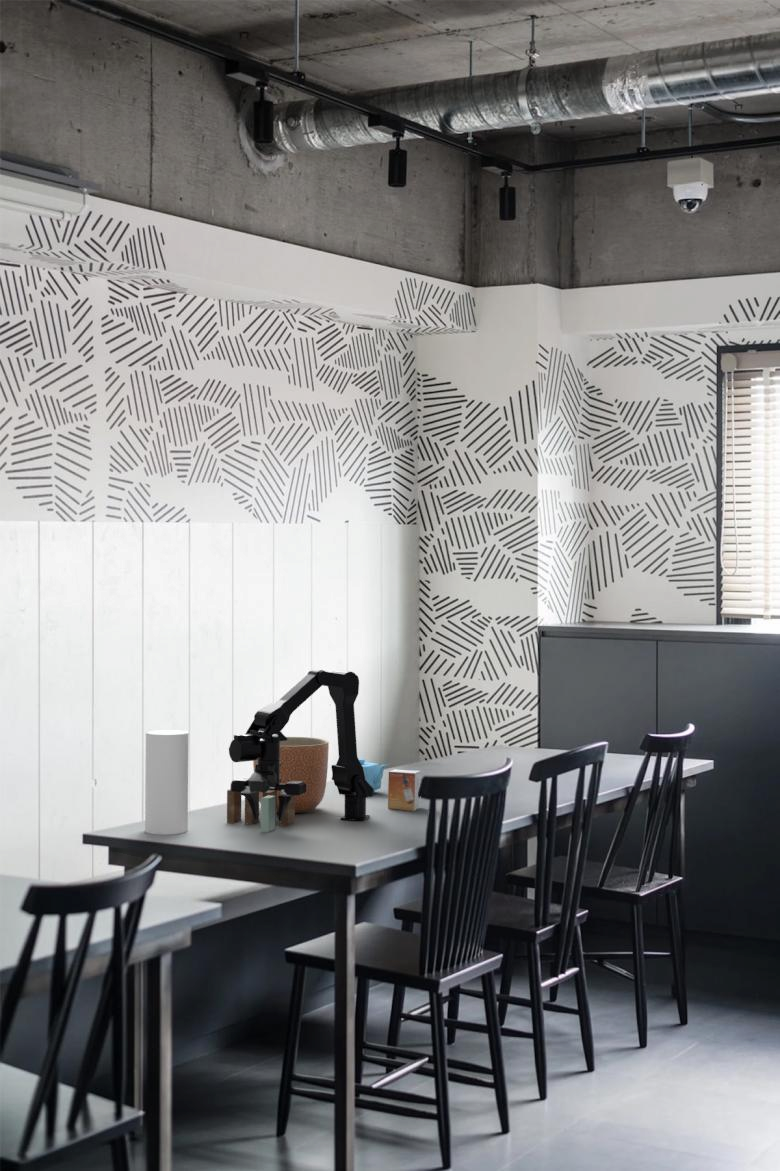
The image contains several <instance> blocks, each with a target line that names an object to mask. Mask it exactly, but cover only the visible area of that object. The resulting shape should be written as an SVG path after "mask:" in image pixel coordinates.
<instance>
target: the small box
mask: <svg viewBox="0 0 780 1171" xmlns="http://www.w3.org/2000/svg"><path fill="white" fill-rule="evenodd" d="M387 780H388V783H387V784H388V787H387V791H388V792H387V809H388V810H389V809H390V810H391V809H392V810H401V811H402V810H403V811H404V810H405V811H410V810H415V809H417V808H419V807H420V808H421V798H420V799H419V798H418V790H419V787H420V783H421V784H422V771H421V770H410V769H408V770H407V769H396V768H394V769H392V770H389V771H388V778H387ZM420 808H419V809H420ZM417 810H418V809H417ZM415 811H416V810H415Z"/></svg>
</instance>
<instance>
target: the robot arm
mask: <svg viewBox="0 0 780 1171" xmlns="http://www.w3.org/2000/svg"><path fill="white" fill-rule="evenodd" d="M322 686H323V687H327V688H328V693H329V696H330V697H331V700H332V701H333V703H334V705H335V706H334V707H335V716H336V732H337V733H336V734H337V748H338V750H337V751H338V760H337V762H336V764H331V772H332V774H331V775H332V777H331V781H333V783H334V784H333V785H335V787H337V791H338V795H344V814H343V815H342V816H341V817H340V818H339V819H340V820H345V821H347V820H348V821H361V822H362V821H363V822H364V821H365V820H367V819H369V818H370V817H371V815H370V814H367V798H372V796H373V794H374V793H373V790H374V789H373V788H372V787H371V786H370V784H369V783H368V782H367V781H366V780H365V774H364V770H363V767H362V765H361V763H360V761H359V759H360V758H359V757H358V748H357V731H356V729H357V728H356V714H355V702H356V700H357V698H358V695H359V691H360V688H359V687H360V680H359V675H357V674H356V673H355V672H353V671H348V670H339V669H337V670H333V671H332V672H329V671H326V670H323V669H315V668H313V669H311V670H309V671H308V672H307V675H305V676H304V677H303V678H302V679H301V680H300V681H298V682H297V683H296V684H295V685H294V686H293V687H292V688H290V690H288V691H287V692H286V693H285V694H284V695H283V696H281V698H280V699H278V700H276V701H275V702H272V703H270V704H267V705H265V706H263V707H262V708H260V709H259V710H257V711H256V713H254V716H253V718H254V719H253V720H252V722H251V724H250V726H249V727H248V729H247V730H246V732H245V733H244V734H234V735H233V739H232V740H231V742H230V745H229V747H228V753H229V758H230V759H231V761H232V762H234V763H244V762H252V761H254V760H257V764H256V766H255V772H254V771H253V773H252V774H251V775H250V777H249V778H247V777H238V778H236V779H233V780H232V781H231V782H230V789H231V791H232V792H241V793H240V794H241V796H244V798H245V797H246V799H247V800H248V802H249V804H250V807H251V810H252V813H253V816H254V818H255V820H257V819H258V813H259V814H260V802H259V792H262V793H265V792H267V791H268V790H275V791H281V792H282V794H281V795H279V796H278V798H279V812H277V817H278V818H277V821H278V822H281V820H282V818H283V815H284V813H285V810H286V807H287V805H288V803H289V801H290V800H291V798H292V797H293V796H295V795H301V794H303V793H305V792H306V784H305V782H304V781H290V782H287V783H285V784H281V783H280V782H281V778H280V766H281V762H280V741H287V737H288V736H286V735H285V734H283V732H282V730H284V728H285V727H286V725H287V724H288V723H289V721H290V719H291V718H290V717H291V715H292V714H293V713H294V711H296V710H297V709H298V708H299V707H300V706H301V705H302V704H303V703H305V702H306V701H307V700H308V699H309V698H310V697H311V696H313V694H314V693H316V691H318V690H319V689H321V687H322ZM374 791H375V790H374Z"/></svg>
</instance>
